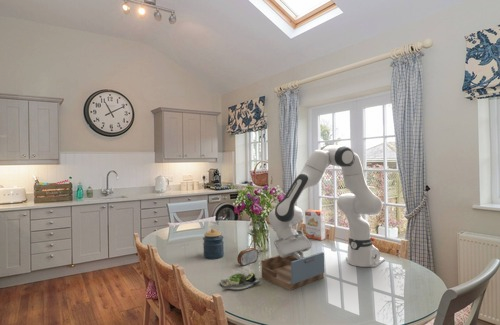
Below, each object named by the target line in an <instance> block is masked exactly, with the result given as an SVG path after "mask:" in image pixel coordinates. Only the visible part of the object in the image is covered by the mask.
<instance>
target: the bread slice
mask: <svg viewBox="0 0 500 325" xmlns="http://www.w3.org/2000/svg"><path fill="white" fill-rule="evenodd" d="M258 258H259V251H258V249H256V248H254V247H250V248H246V249H243V250H241V251H240V252H239V253H238V255H237V263H238V265H241V266H243V267H244V266H248V265H250V264H253V263H256V261H257V260H258Z"/></svg>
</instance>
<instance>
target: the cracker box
mask: <svg viewBox="0 0 500 325" xmlns="http://www.w3.org/2000/svg"><path fill="white" fill-rule="evenodd" d="M304 214H305V215H304V218H305V219H304V220H305V236H306V237H307V239H313V240H318V241H323V240H325V239H326V213H325V210H317V209H309V208H308V209H306V210H304Z"/></svg>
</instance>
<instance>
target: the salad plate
mask: <svg viewBox="0 0 500 325" xmlns="http://www.w3.org/2000/svg"><path fill="white" fill-rule="evenodd" d="M228 282H229V284H228ZM260 283H261V281H259V279H258V278H256V275H255V273H254V272H251V273H249V274H248V273H247V274H246V273H242V272H241V273H240V272H239V273H234V274H232V275H230V276H227V277H224V278H222V279H220V281H219V284H220V285H221V286H222V289H224V290H226V289H227V290H230V291H231V290H233V291H243V290H246V289H249V288H252V287H254V286H256V285H259V284H260Z"/></svg>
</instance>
